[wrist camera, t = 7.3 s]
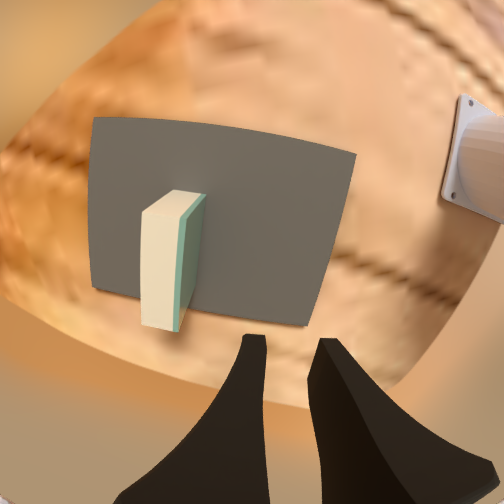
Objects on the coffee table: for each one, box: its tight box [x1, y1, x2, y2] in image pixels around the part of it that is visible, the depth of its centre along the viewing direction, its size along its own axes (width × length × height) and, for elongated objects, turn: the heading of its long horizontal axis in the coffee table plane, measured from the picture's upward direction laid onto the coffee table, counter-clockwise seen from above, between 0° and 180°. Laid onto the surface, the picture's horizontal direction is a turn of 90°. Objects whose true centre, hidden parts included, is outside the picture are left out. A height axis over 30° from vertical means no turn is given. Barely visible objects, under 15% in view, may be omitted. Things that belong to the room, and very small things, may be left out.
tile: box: [140, 190, 206, 332], centre depth 15 cm, size 2×6×5 cm, turn 170°
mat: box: [88, 117, 357, 326], centre depth 17 cm, size 16×12×1 cm
